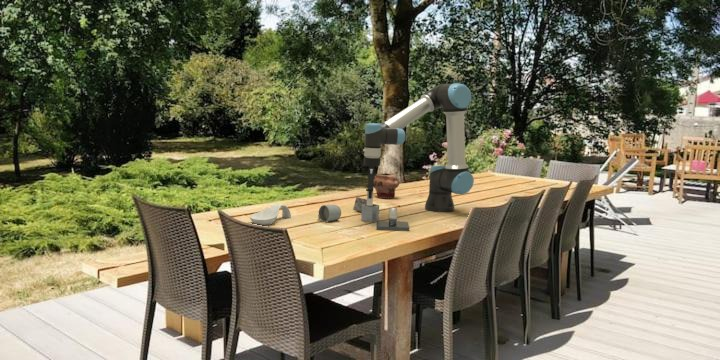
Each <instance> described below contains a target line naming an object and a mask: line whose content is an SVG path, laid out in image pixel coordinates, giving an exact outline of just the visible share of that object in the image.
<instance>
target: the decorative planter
mask: <svg viewBox="0 0 720 360" xmlns="http://www.w3.org/2000/svg"><path fill="white" fill-rule="evenodd" d="M373 185H375V187H373V189H375V192H376V196H377V197H378V198H380V199H394V198H395V196H396V189H397V188H398V187H399V185H400V183H399V181H398V178H397V176H396V175H395V174H392V173H378V174H377V173H376V174H375V179H374V184H373Z"/></svg>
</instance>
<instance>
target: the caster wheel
mask: <svg viewBox="0 0 720 360" xmlns="http://www.w3.org/2000/svg"><path fill="white" fill-rule="evenodd" d="M363 204H367V198H362V197H359V196H356V198H355V201H354V205H353V208H352V210H354V211H357V212H359V213H362V205H363Z"/></svg>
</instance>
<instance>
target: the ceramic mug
mask: <svg viewBox="0 0 720 360" xmlns="http://www.w3.org/2000/svg"><path fill="white" fill-rule="evenodd" d="M341 216H342V210H341V208H340V206H339V205H337V204H322V205H321V206H320V207H319V210H318V215H317V217H318V219H320V221H321V222H323V223H326V222H333V221H334V222H335V221H338V220H340V218H341Z"/></svg>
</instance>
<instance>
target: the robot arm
mask: <svg viewBox="0 0 720 360" xmlns="http://www.w3.org/2000/svg"><path fill="white" fill-rule="evenodd" d="M471 103H472V92H471V90H470V88H469V87H468V86H466V84H463V83H457V82H456V83H441V84H438V85H436V86H434V87H432V88H431V89H430V90H428V91H426V92H424V93H423V94H422V95H421V96H420V98H419V99H418V100H416V101H415V102H413V103H412V104H410V105H408V106H407V107H406V108H404V109H402V110H401V111H399V112H397V113H396V114H394V115H393V116H391V117H390V118H389V119H387V120H386V121H383V122H382V123H376V122H375V123H373V122H372V123H371V122H368V123H366V124H365V130H364V149H362V152H364V153H363V156H364V158H363V166H365V167H368V169H366V174H367V176H366V178H367V188H365V192H366V193H367V194H366V200H367V205H368V206H373V204H374V187H375V185H373V184H374V180H375V176H376V174H377V173H376V172H377V169H375V167H380V166H381V158H380V157H381V153H382V145H392V146H393V145H396V146H397V145H398V146H399V145H403V144H404V142H406V141H405V140H406V133H405V130H404V128H406V127H407V126H408V125H410V124H412V123H414V121H416V120H419V118H421V117H422V116H424V115H425V114H427V113H428V112H431V113H432V112H434V111H436V110H438V109H441V108H442V113H443V114H445V119H446V121H445V122H446V143H447V145H446V148H447V150H446V151H447V164H446V165H432V166H431V167H430V169H429V170H430V171H429V187H428V189H429V190H428V191H429V192H428V196H427V199H426V201H425V204H424V209H425V210H426V211H430V212H431V211H432V212H437V213H439V212H440V213H447V212H448V213H449V212H453V211H455V204H454V200H453V196H452V194H455V195H466V194H467V193H469V192H470V190H472V188H473V186H474V182H475V181H474V175H473V174H472V173H471V172H470V170H469V169H470V168H469V165H468V164H467V163H466V142H465V141H466V140H465V139H466V138H465V114H466V113H467V111H468V107H469V106H470V104H471Z"/></svg>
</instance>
